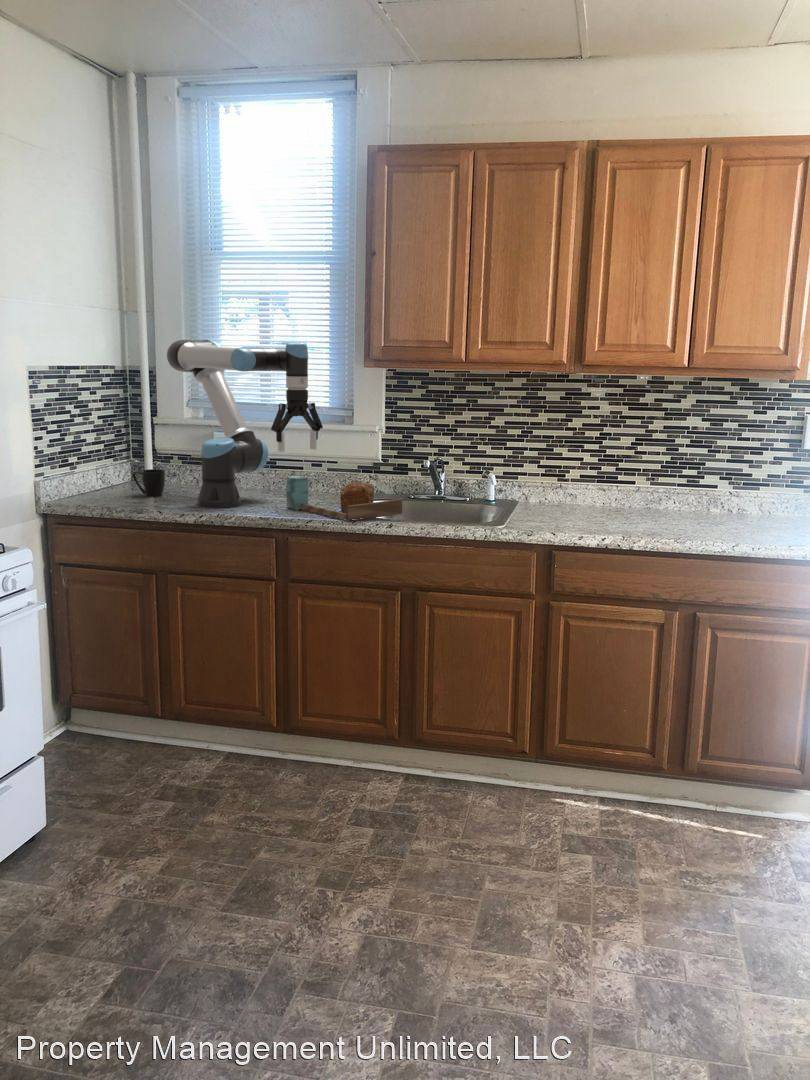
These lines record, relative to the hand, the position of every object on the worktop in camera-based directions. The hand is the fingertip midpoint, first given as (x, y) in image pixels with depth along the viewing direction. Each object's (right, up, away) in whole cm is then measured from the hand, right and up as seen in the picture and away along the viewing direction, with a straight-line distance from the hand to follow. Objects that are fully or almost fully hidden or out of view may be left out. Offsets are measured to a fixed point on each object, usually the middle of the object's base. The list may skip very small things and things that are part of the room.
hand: (297, 450), depth 320 cm
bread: (+21, -21, +4) cm, 30 cm away
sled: (+16, -21, +1) cm, 27 cm away
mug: (-59, -15, +25) cm, 66 cm away
